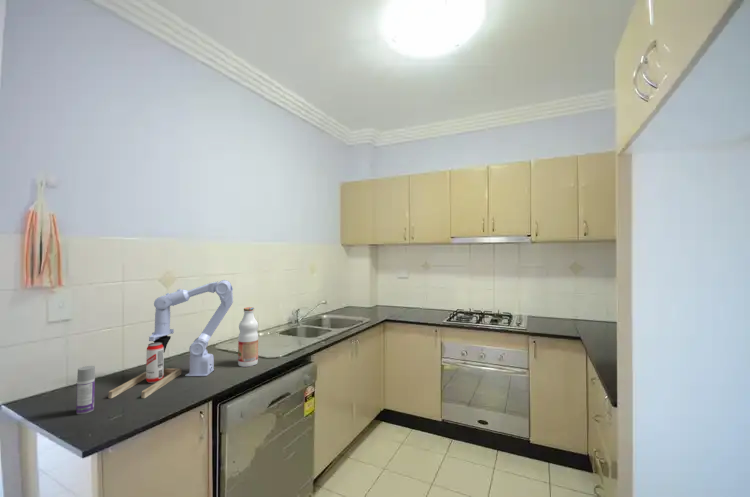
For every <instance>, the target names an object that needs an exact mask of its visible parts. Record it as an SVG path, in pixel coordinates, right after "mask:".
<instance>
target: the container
mask: <svg viewBox="0 0 750 497" xmlns="http://www.w3.org/2000/svg"><path fill="white" fill-rule="evenodd" d="M76 376H77V377H76V378H77V380H76V405H75V407H76V408H75V409H76V411H75V412H76V415H85V414H88V413H91V412H93V411H94V410H95V390H96V388H95V384H96V370H95V365H86V366H85V365H84V366H82V367H79V368H77V375H76Z"/></svg>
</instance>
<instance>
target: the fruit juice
mask: <svg viewBox="0 0 750 497" xmlns="http://www.w3.org/2000/svg"><path fill="white" fill-rule="evenodd" d="M254 312H255V308H254V307H250V306H249V307H244V308H243V313H244V314H243V317H242V319H241V321H240V322H239V324H238V329H239V333H238V337H237V338H238V339H237V341H238V342H237V343H238V344H237V345H238V346H237V365H238V366H239V367H244V368H247V367H253V366H255V365H257V364H258V363H259V361H258V360H259V332H258V330H259V322H258V321H257V319H256V318H255V314H254Z"/></svg>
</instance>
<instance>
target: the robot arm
mask: <svg viewBox="0 0 750 497" xmlns="http://www.w3.org/2000/svg"><path fill="white" fill-rule="evenodd" d="M233 290H234V288H233V285H232V284H231V282H230V281H229V280H226V279H223V280H220V281H219V280H218V281H213V282H209V283H207V284H203V285H201V286H197V287H195V288H192V289H189V290H187V289H184V288H179V289H177V290H176V291H174V292H171V293H169V292H167V293H165V295H164V294H163V295H161V296H159V297H157V298H156V299H155V300H154V301H153V302H154V303H153V306H154V308H155V312H154V332H152V333H151V335H150V336H148V337H149V338H148V341H149V342H152V343H155V342H162V345H163V346H164V353H165V352H166V349H167V347H168V346H167V345H168V343H169V342H170V341H171V337H172V336H170V335H171V334H174V332H175V330H174V328H171V327H170V326H171V307H172V306H173V307H174V306H177V305H179V304H183V303H185V302H188V301H189V299H190V298H192V297H194V296H198V295H201V294H205V293H212V294H215V293H216V295H218V298H219V300H220V304H219V306H218V307H217V309H216V310H215V312H214V313H213V315H212V316H211V318H210V320H209V321H208V322H207V324H206V326H205V327H204V329H203V330H202V332H201V333H200V335H199V336H198V337H196V338H195V339H194V341H192V343H191V344H190V346H189V350H188V351H189V352H190V353H189V372H188V373H186V374H185V377H207V376H209V375H210V374H211V373H213V371H215V369H214V364H215V361H214V360H215V357H214V354H213V353H208V349H207V347H208V345H209V340H210V339H211V337H212V336H213V335H214V333H215V332H216V329H217V328H218V326H219V325H220V323H221V322H222V320H223V319H224V317H225V316H226V314H227V312H228V311H229V310H230V308H231V307H232V305H233V303H234V292H233Z"/></svg>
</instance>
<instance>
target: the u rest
mask: <svg viewBox="0 0 750 497" xmlns="http://www.w3.org/2000/svg"><path fill="white" fill-rule="evenodd" d="M180 375H182V368H164V378H163V379H161V380H160V381H158V382H156V383H152V385H150V386H148V387H147V388H145V389H143V390H142V391H141V396H140V397H141V399H146V398H147V397H149V396H150V395H152V394H154V393H155V392H156V391H158V390H159V389H161V388H162V387H164V386H165V385H167V384H168V383H170V382H172V381H173V380H174V379H176V378H178V377H179V376H180ZM145 380H146V371H144V372H143V373H141V374H138V375H137V376H135V377H133V378H131V379H129V380H128V381H126V382H124V383H122V384H121V385H119V386H117V387H115V388H113V389H110V390H109V391H108V399H113V398H115V397H117V396H118V395H120V394H122V393H124V392H125V391H127V390H129V389H131V388H132V387H134V386H136V385H138V384H139V383H141V382H143V381H145Z"/></svg>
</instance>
